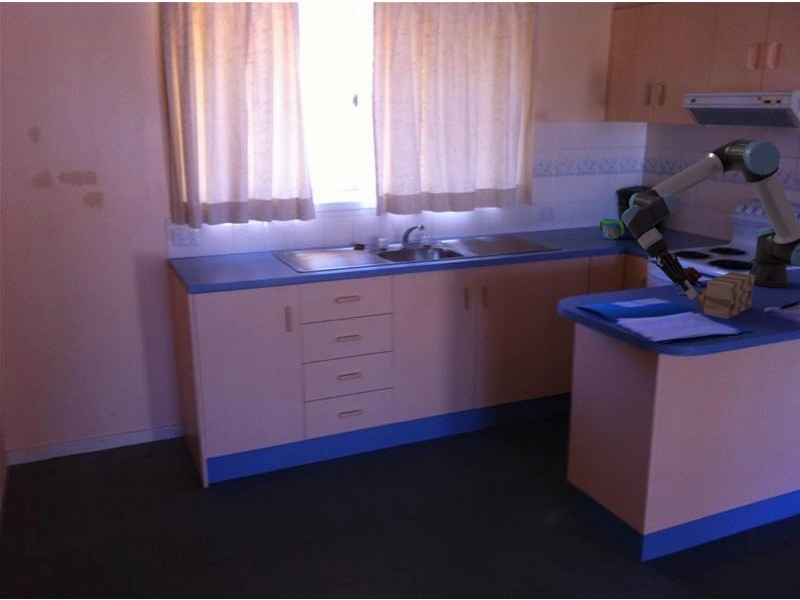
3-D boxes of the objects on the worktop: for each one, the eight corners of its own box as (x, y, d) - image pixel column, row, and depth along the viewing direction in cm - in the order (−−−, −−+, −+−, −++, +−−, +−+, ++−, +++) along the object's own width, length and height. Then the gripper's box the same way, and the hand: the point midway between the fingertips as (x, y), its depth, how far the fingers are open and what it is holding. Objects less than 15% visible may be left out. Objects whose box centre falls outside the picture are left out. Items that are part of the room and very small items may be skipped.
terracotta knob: (703, 304, 251) (705, 288, 250) (734, 310, 244) (736, 293, 243) (696, 307, 247) (698, 290, 246) (727, 313, 240) (730, 296, 239)
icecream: (669, 264, 295) (692, 275, 281) (685, 259, 296) (708, 270, 282) (670, 279, 298) (693, 291, 284) (686, 274, 299) (709, 286, 285)
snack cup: (628, 240, 383) (630, 221, 380) (613, 242, 378) (615, 223, 375) (607, 235, 396) (609, 217, 393) (593, 237, 391) (594, 218, 389)
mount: (726, 303, 261) (730, 271, 258) (750, 307, 255) (755, 275, 252) (701, 315, 246) (706, 281, 242) (726, 320, 240) (731, 285, 237)
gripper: (654, 247, 264) (693, 299, 257) (637, 252, 255) (678, 306, 248) (669, 235, 259) (710, 288, 252) (653, 239, 250) (695, 294, 243)
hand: (694, 297), depth 250 cm, fingers closed
